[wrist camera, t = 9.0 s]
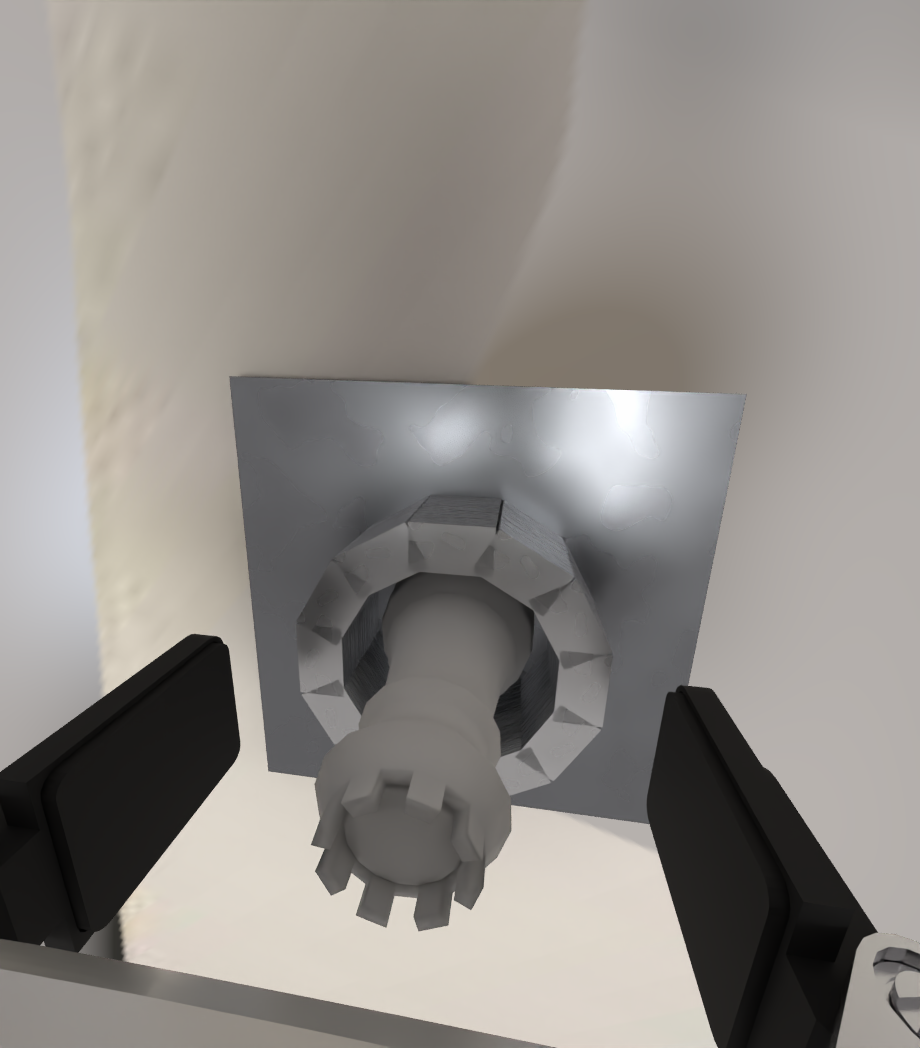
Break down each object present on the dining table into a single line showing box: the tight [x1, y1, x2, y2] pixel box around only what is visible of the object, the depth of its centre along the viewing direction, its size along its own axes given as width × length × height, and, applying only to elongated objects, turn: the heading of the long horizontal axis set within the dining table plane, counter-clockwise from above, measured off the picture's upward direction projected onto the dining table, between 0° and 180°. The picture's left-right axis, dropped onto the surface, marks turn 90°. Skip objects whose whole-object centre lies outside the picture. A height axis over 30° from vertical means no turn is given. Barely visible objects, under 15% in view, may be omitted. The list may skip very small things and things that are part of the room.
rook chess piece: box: [311, 572, 534, 931], centre depth 10 cm, size 4×4×8 cm
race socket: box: [229, 376, 746, 824], centre depth 13 cm, size 14×14×4 cm
